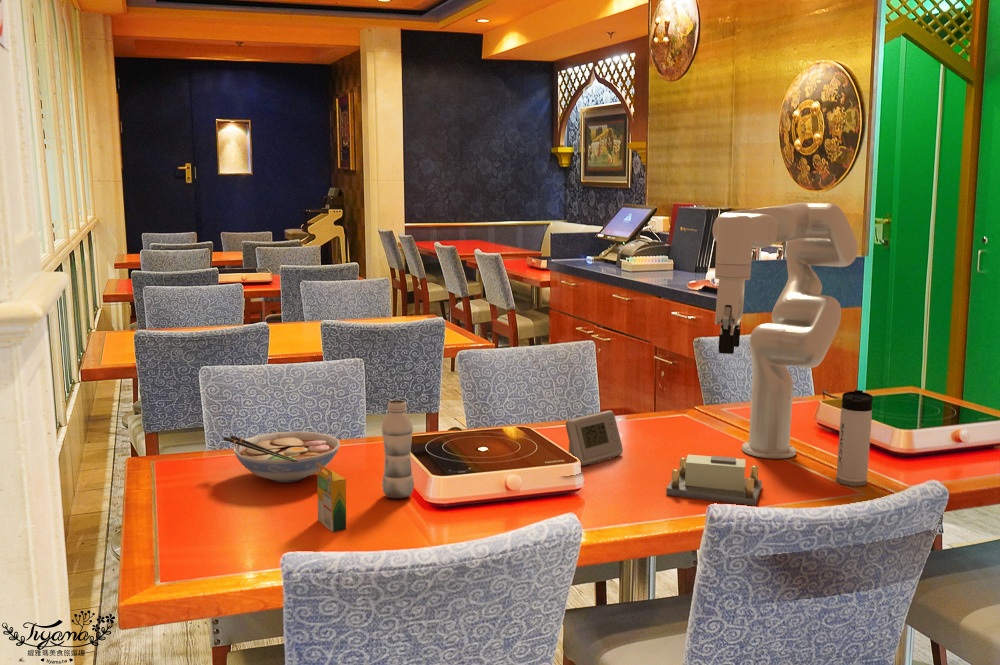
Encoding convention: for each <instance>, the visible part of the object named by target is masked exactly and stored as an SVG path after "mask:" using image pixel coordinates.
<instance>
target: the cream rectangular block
mask: <svg viewBox="0 0 1000 665" xmlns="http://www.w3.org/2000/svg"><path fill="white" fill-rule="evenodd" d="M686 458H687V460H686V472H685V485H686V486H697V487H708V488H719V489H730V490H741V491H744V480H745V479H746V478H745V477H746V476H745V475H746V459H745V458H736V457H730V456H729V457H728V456H722V455H721V456H716V455H711V456H710V455H709V456H708V455H699V454H695V455H694V454H687V457H686Z"/></svg>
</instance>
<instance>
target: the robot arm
mask: <svg viewBox="0 0 1000 665" xmlns="http://www.w3.org/2000/svg"><path fill="white" fill-rule="evenodd" d="M711 230H712V236H713V239H714V241H715V242H716V248H715V249H716V250H715V264H714V265H715V271H714V279H715V280H716V279H717V280H718V284H717V294H716V306H715V319H714V323H715V324H716V325H720V327H719V328H720V329H719V334H718V353H719V354H727V355H733V354H734V353H735V348H738V347H739V346H740V340H741V338H740V337H741V329H740V326H741V325H740V324H741V322H742V319H743V313H744V302H745V286H746V285H745V284H746V283H745V282H746V281H750V280H751V274H752V273H751V272H752V271H751V270H752V255H753V254H752V252H753V249H766V248H768V247H770V246H772V245H773V244H776V243H777V244H778V243H779V244H780V243H785V242H786V246H785V255H786V257H785V258H786V267H787V274H788V275H787V277H788V278H787V281H786V284H785V285H784V287H783V289H782V291H781V293H780V294H779V297H778V298H777V300H776V302H775V304H774V306H773V309H772V313H771V321H772V322H767V323H761V324H759V325H757V326H756V327H754V328H753V330H752V331H751V334H750V338H749V349H750V355H751V364H752V365H751V367H752V371H751V372H752V375H751V376H752V377H751V378H752V379H751V380H752V381H751V397H750V398H751V399H750V414H749V416H750V418H749V434H748V441H747V442H744V443H742V445H741V450H742V452H744V453H745V454H747V455H750V456H754V457H756V458H763V459H772V460H773V459H775V460H776V459H779V460H780V459H789V458H792V457H795V455H796V454H797V453H796V452H797V450H796V448H795V447H794V446H793V445H791V443H790V442H791V441H790V440H791V439H790V438H791V426H792V425H791V423H792V409H793V394H794V392H793V391H794V381H793V378H792V375H791V373H790V371H789V369H788V367H787V366H792V367H798V368H805V369H807V368H808V369H810V368H811V369H812V368H816V367H818V366H820V365H821V363H822V362H823V360H824V359H825V356H826V354H827V353H828V351H829V349H830V348H831V347H830V346H831V344H832V343H833V340H834V338H835V337H836V334H837V332H838V330H839V327H840V325H841V320H842V308H841V304H840V302H839V301H838V300H837V299H836V298H835V297H833V296H832V295H831V296H830V295H824V294H822V292H823V284H822V282H821V280H820V278H819V276H818V274H817V273H816V272H815V271H814V270H813V269H812V266H816V267H817V266H818V267H820V266H822V267H835V268H836V267H838V268H844V267H848V266H850V265H852V263H854V262H855V260H856V258H857V256H858V242H857V240H856V239H857V238H856V236H855V234H854V232H853V229H852V228H851V224H850V222H849V220H848V218H847V216H846V214H845V213H844V211H843V210H842V209H841V207H840V206H839V205H837V204H835V203H832V202H795V203H788V204H785V205H776V206H767V207H760V208H758V207H757V208H752V209H751V208H750V209H740V210H733V211H726V212H723V213H721V214H719V215H718V216H717V217H716V218H715V220H714V222H713V225H712V229H711Z"/></svg>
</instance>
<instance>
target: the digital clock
mask: <svg viewBox="0 0 1000 665" xmlns="http://www.w3.org/2000/svg"><path fill="white" fill-rule="evenodd" d="M616 419H617V418H616V416H615V414H614V412H613V411H612V410H605V411H604V410H603V411H598V412H593V413H589V414H585V415H581V416H577V417H574V418H571V419H569V420H567V421H566V422H565V429H566V434H567V438H568V441H569V442H568V454H569V453H571V454H572V455H573V456H575V457H577V458H578V459H579V460H580V462H581V465H582V466H581V467H584V466H590V465H589V464H591V465H593V464H592V463H594V464H597V463H596V462H598V463H600V462H599V461H601V462H603V461H602V460H605V461H607V460H606V459H608V460H610V459H609V458H611V459H614V458H615V457H618V456H620V455H622V454H623V452H624V451H623V450H624V449H623V444H622V441H621V436H620V432H619V428H618V424H617V420H616ZM587 464H588V465H587Z"/></svg>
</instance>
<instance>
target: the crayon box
mask: <svg viewBox="0 0 1000 665" xmlns="http://www.w3.org/2000/svg"><path fill="white" fill-rule="evenodd" d="M316 474H317V521H318V522H319V523H321V524H322V525H323V526H324V527H325V528H327V529H328V530H329V531H331V533H337V532H340V531H345V530H347V479H346V478H344V477H343V476H342V475H340V474H338V473H337V472H335V471H333V470H332V469H328V468H327V466H325V467H324V466H323V465H321V464H320V463H318V462H317V473H316Z"/></svg>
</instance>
